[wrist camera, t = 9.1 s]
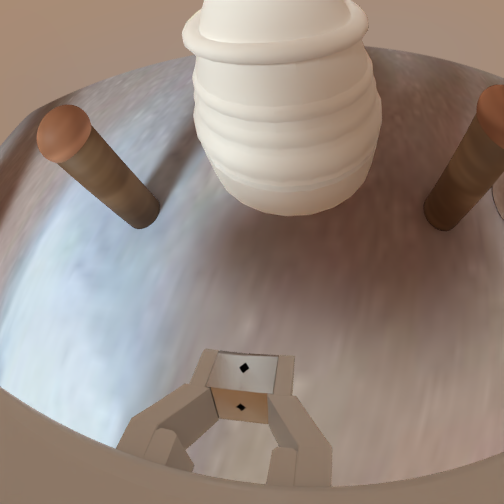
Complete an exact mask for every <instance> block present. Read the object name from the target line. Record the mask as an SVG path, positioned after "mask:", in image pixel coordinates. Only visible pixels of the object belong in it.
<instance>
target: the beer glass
mask: <svg viewBox="0 0 504 504" xmlns="http://www.w3.org/2000/svg"><path fill="white" fill-rule="evenodd" d="M492 190H493V198H494V202H495V205H496V207H497V210H498V212H499V214H500V215H501V217H502V219H503V220H504V172H503V173H502V175H501V176H500V177H499V178H498V179H497V181H496V182H495V183H494V184H493V188H492Z"/></svg>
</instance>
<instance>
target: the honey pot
mask: <svg viewBox="0 0 504 504" xmlns="http://www.w3.org/2000/svg"><path fill="white" fill-rule="evenodd" d="M367 31H368V18H367V15H366V13H365V12H364V11H363V10H362V8H361V7H360V6H359V5H358V4H356V3H355V2H353V1H351V0H204V3H203V7H202V9H200V10H199V11H197V12H196V13H195V14H194V15H193V16H192V17H191V18H190V19H189V20H188V21H187V22H186V25H185V27H184V29H183V32H182V37H183V42H184V45H185V47H186V48H187V49H189V50H190V51H191V52H192V53H193V54H195V55H196V65H195V68H194V72H193V76H192V80H193V84H194V88H195V91H194V100H195V108H194V113H193V117H194V122H195V127H196V132H197V136H198V138H199V140H200V141H201V143H202V147H203V148H204V150H205V153H206V155H207V157H208V159H209V161H210V163H211V165H212V167H213V169H214V171H215V173H216V175H217V177H218V178H219V180H220V181H221V183H222V184H223V186H224V187H225V189H226V190H227V192H229V193H230V194H231V195H232V196H234V197H235V198H236V199H237V200H239V201H240V202H241V203H242V204H244V205H247V206H249V207H251V208H254V209H256V210H258V211H261V212H263V213H269V214H275V215H281V216H299V215H311V214H315V213H318V212H321V211H324V210H328V209H331V208H334V207H335V206H337V205H339V204H340V203H342V202H343V201H345V200H347V199H348V198H350V197H351V196H352V195H353V194H354V193H355V192H356V191H357V190H358V189H359V187H360V186H361V185H362V184H363V183H364V182H365V179H366V177H367V175H368V172H369V170H370V167H371V164H372V161H373V157H374V153H375V150H376V146H377V142H378V136H379V133H380V127H381V125H382V104H381V98H380V96H379V94H378V91H377V89H376V79H375V77H374V75H373V64H372V60H371V59H370V57H369V55H368V53H367V52H366V50H365V48H364V45H363V42H362V38H363V36H364V35H365V34H366V32H367Z"/></svg>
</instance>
